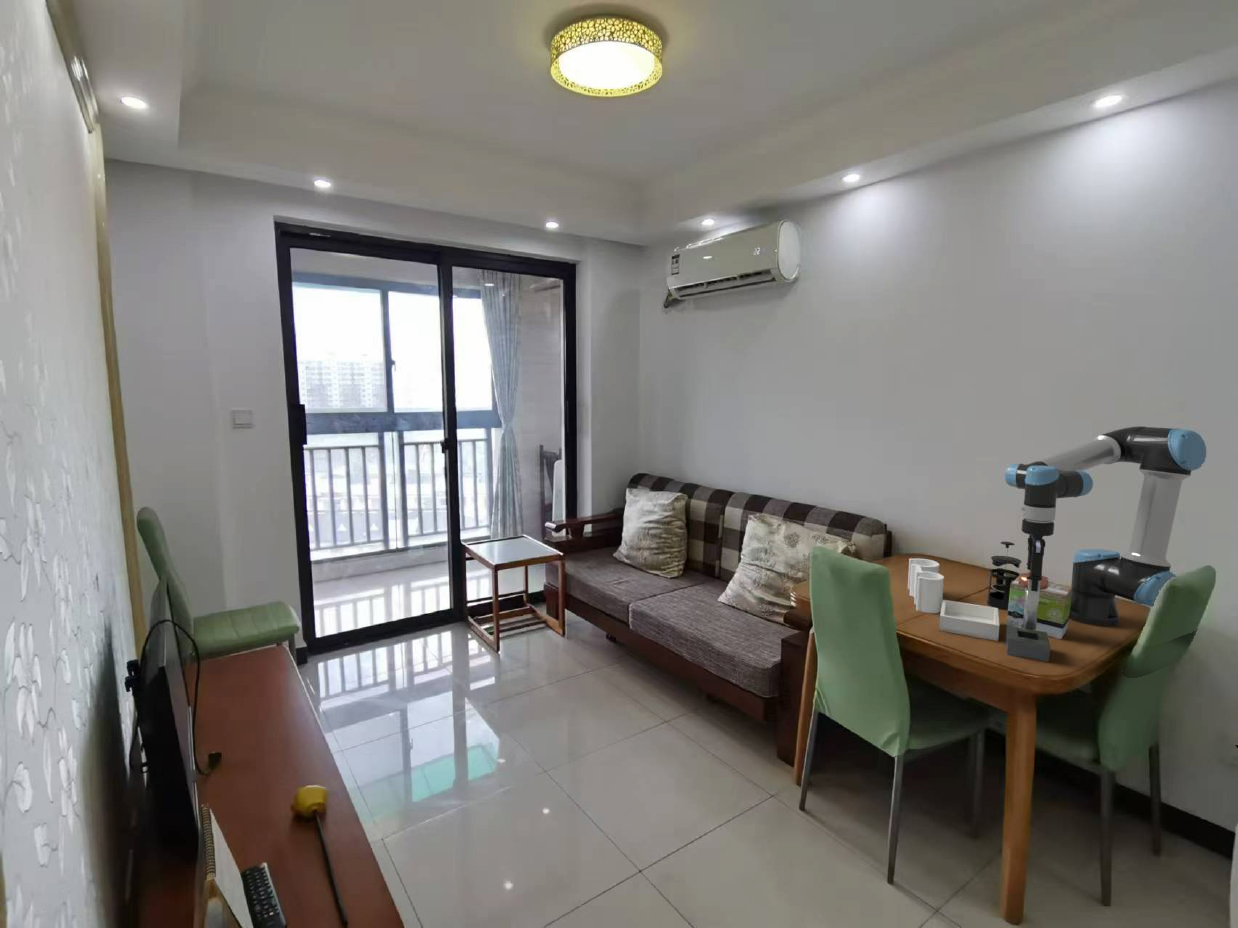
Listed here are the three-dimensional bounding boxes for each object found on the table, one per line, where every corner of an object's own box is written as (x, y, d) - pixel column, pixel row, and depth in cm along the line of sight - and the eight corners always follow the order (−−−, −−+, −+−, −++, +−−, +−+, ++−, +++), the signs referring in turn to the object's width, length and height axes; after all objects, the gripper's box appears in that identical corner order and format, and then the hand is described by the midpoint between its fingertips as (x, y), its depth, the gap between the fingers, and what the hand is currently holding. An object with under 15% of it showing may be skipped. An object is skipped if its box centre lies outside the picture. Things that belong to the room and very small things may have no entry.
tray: (996, 622, 197) (997, 608, 196) (998, 641, 184) (999, 625, 183) (941, 613, 205) (942, 599, 205) (939, 630, 192) (940, 615, 191)
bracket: (945, 615, 204) (948, 581, 203) (914, 611, 208) (916, 577, 206) (935, 590, 227) (937, 559, 226) (907, 587, 231) (908, 557, 229)
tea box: (1005, 626, 194) (1009, 582, 192) (1013, 617, 201) (1017, 575, 199) (1062, 640, 184) (1066, 594, 182) (1068, 630, 191) (1073, 586, 189)
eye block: (1045, 648, 178) (1046, 632, 178) (1048, 662, 170) (1050, 645, 169) (1005, 641, 183) (1006, 625, 183) (1006, 654, 175) (1008, 638, 174)
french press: (1022, 612, 205) (1028, 547, 202) (991, 609, 208) (996, 545, 205) (1012, 600, 216) (1017, 538, 213) (982, 597, 219) (987, 536, 216)
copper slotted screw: (1014, 621, 180) (1018, 569, 178) (1042, 625, 177) (1047, 573, 175) (1015, 629, 175) (1019, 576, 172) (1044, 634, 171) (1049, 580, 169)
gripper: (1020, 511, 181) (1014, 584, 185) (1024, 526, 164) (1018, 605, 168) (1050, 514, 177) (1044, 588, 181) (1058, 529, 161) (1051, 610, 164)
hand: (1031, 596), depth 174 cm, fingers closed on copper slotted screw, 7 cm apart
